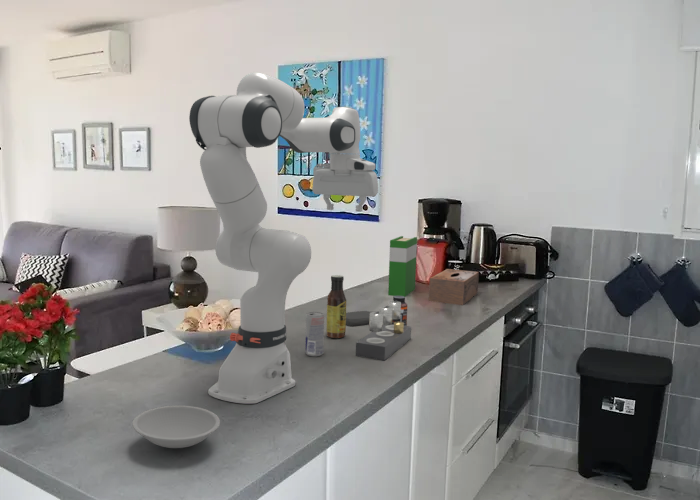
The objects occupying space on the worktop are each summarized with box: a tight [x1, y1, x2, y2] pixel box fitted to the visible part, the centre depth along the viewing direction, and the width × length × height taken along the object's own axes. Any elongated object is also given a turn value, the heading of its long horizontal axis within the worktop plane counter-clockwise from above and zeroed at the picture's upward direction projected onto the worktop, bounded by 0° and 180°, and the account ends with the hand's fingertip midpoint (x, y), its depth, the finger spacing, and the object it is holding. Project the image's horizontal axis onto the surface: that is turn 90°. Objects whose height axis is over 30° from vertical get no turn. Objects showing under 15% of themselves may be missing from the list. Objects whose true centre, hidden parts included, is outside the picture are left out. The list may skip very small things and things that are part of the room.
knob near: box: [368, 310, 383, 333], centre depth 169 cm, size 4×4×5 cm
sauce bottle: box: [325, 274, 347, 339], centre depth 186 cm, size 7×6×20 cm
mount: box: [355, 324, 412, 361], centre depth 177 cm, size 24×9×4 cm, turn 156°
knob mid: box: [378, 305, 392, 326], centre depth 176 cm, size 4×4×5 cm
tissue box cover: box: [428, 268, 479, 306], centre depth 249 cm, size 26×14×10 cm, turn 154°
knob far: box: [387, 300, 401, 319], centre depth 184 cm, size 4×4×5 cm
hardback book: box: [387, 235, 418, 298], centre depth 255 cm, size 18×7×24 cm, turn 159°
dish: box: [132, 404, 221, 449], centre depth 112 cm, size 18×14×5 cm
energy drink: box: [304, 311, 325, 357], centre depth 169 cm, size 5×5×12 cm
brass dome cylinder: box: [394, 322, 404, 334], centre depth 179 cm, size 3×3×3 cm
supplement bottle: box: [392, 296, 408, 326], centre depth 197 cm, size 6×6×11 cm
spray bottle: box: [346, 310, 372, 327], centre depth 209 cm, size 3×11×24 cm
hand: (344, 210), depth 173 cm, fingers open, 8 cm apart
